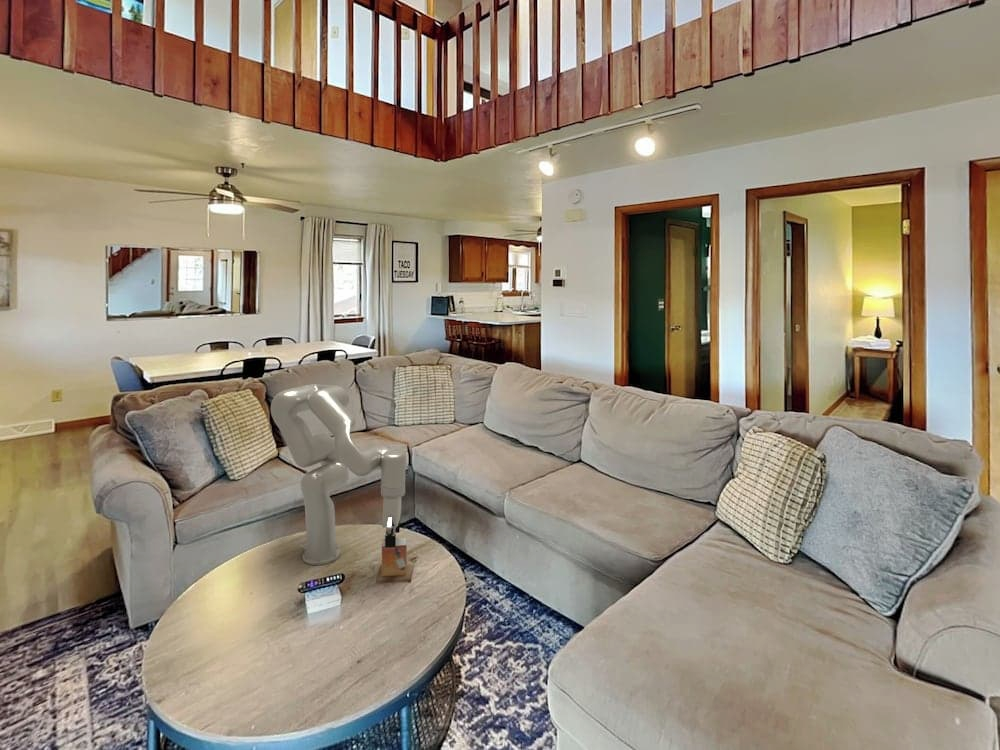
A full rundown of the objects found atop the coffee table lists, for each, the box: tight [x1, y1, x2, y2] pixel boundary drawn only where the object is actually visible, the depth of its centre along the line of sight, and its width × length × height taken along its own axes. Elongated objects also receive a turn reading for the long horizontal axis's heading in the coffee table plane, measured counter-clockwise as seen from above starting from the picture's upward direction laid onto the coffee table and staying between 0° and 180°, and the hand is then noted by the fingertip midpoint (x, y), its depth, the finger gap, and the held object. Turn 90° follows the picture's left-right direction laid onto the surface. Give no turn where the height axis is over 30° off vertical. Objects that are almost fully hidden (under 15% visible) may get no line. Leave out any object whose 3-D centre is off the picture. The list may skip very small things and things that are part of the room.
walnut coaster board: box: [375, 564, 415, 584], centre depth 173 cm, size 11×9×1 cm
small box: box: [381, 537, 408, 577], centre depth 172 cm, size 8×6×10 cm
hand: (392, 539), depth 171 cm, fingers open, 9 cm apart
